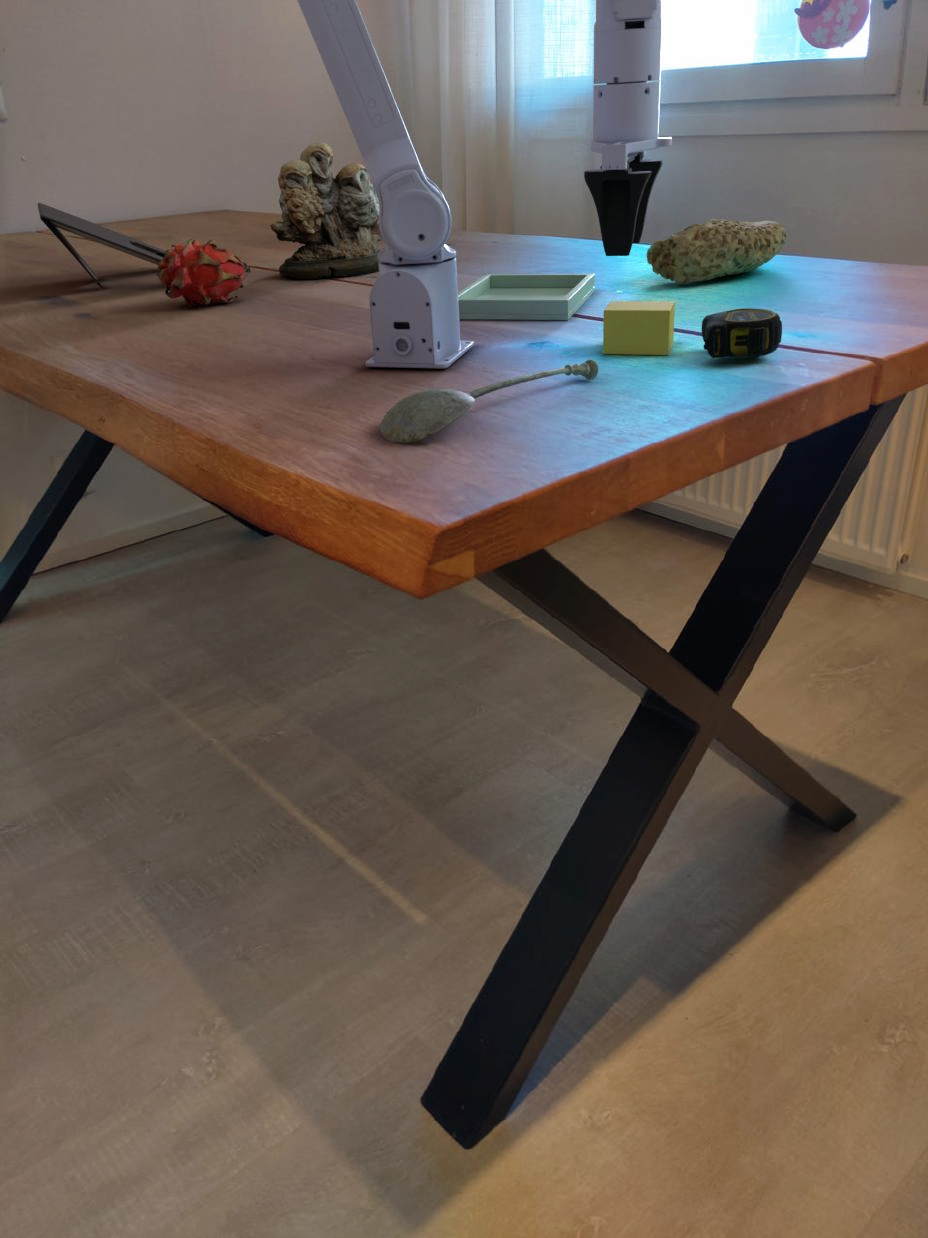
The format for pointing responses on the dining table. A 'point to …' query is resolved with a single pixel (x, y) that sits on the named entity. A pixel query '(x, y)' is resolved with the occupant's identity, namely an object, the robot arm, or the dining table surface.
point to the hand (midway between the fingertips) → (623, 249)
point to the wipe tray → (525, 296)
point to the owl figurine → (327, 216)
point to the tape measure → (741, 333)
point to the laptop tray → (95, 237)
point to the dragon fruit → (201, 273)
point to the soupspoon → (453, 405)
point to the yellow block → (638, 327)
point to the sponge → (716, 249)
